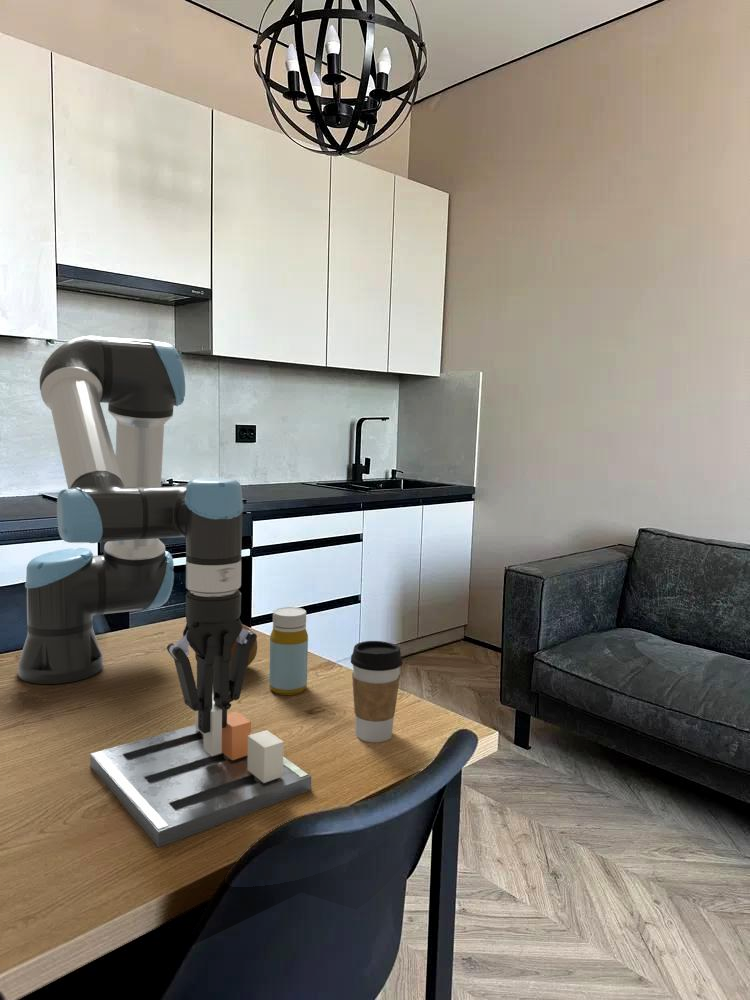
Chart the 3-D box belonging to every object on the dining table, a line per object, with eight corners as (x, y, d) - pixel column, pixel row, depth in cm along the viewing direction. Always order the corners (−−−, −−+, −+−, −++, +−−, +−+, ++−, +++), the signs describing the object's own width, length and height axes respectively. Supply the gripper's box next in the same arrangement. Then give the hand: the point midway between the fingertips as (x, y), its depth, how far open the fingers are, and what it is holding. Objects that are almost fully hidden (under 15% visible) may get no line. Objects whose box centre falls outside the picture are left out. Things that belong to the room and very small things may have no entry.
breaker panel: (90, 766, 103) (90, 752, 102) (227, 727, 117) (227, 715, 116) (158, 847, 84) (158, 831, 84) (311, 789, 99) (311, 775, 98)
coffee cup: (362, 750, 110) (365, 657, 109) (339, 728, 118) (342, 640, 116) (408, 740, 114) (412, 650, 112) (384, 719, 122) (387, 635, 120)
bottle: (262, 692, 132) (263, 613, 130) (281, 679, 138) (282, 604, 136) (295, 698, 129) (297, 618, 127) (313, 685, 136) (315, 609, 134)
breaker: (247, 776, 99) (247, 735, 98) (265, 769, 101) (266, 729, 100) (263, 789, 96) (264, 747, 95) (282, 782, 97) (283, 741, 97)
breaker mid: (217, 754, 105) (217, 716, 104) (235, 749, 107) (235, 711, 106) (231, 766, 101) (232, 727, 101) (250, 760, 103) (250, 721, 103)
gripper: (181, 602, 92) (180, 775, 95) (268, 589, 100) (265, 748, 103) (157, 590, 97) (157, 753, 100) (241, 578, 106) (239, 729, 109)
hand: (212, 750), depth 102 cm, fingers closed
